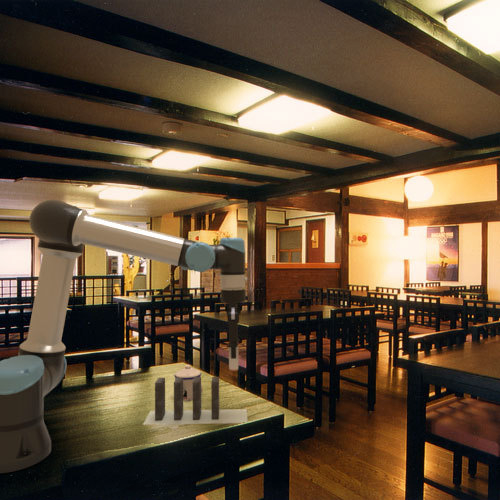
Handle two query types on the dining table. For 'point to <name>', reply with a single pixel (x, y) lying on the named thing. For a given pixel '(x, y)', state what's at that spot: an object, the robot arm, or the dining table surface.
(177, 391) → the domino
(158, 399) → the domino
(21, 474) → the dining table surface
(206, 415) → the board
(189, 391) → the teacup with lid
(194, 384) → the domino
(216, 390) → the domino
